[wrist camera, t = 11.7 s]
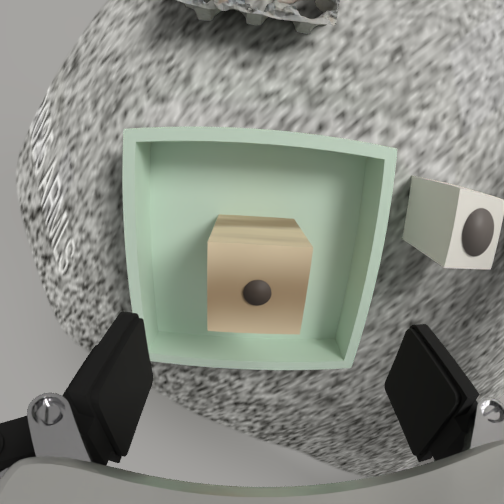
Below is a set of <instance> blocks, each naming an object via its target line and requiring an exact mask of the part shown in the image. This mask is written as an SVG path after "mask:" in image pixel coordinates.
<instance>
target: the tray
mask: <svg viewBox="0 0 504 504" xmlns="http://www.w3.org/2000/svg"><path fill="white" fill-rule="evenodd" d="M396 158H397V149H396V148H391V147H387V146H382V145H377V144H371V143H366V142H360V141H355V140H349V139H342V138H336V137H329V136H322V135H314V134H306V133H297V132H288V131H277V130H265V129H250V128H231V127H151V128H132V129H124V132H123V166H122V184H123V220H124V237H125V251H126V263H127V273H128V282H129V291H130V299H131V306H132V313H137V314H138V315H139V318H142V319H143V320H144V326H145V333H146V339H147V345H148V351H149V357H150V361H154V362H162V363H170V364H179V365H189V366H201V367H214V368H230V369H253V370H320V369H343V368H351V367H352V364H353V361H354V358H355V355H356V352H357V349H358V345H359V342H360V339H361V336H362V332H363V329H364V325H365V322H366V318H367V315H368V311H369V307H370V303H371V300H372V296H373V292H374V287H375V283H376V279H377V275H378V270H379V266H380V261H381V256H382V251H383V246H384V241H385V236H386V230H387V225H388V219H389V213H390V206H391V199H392V192H393V185H394V177H395V168H396ZM219 214H222V215H242V216H259V217H275V218H290V219H295V221H296V222H297V224H298V225H299V227H300V228H301V230H302V231H303V233H304V234H305V236H306V237H307V239H308V240H309V242H310V243H311V245H312V246H313V254H312V261H311V268H310V275H309V281H308V288H307V294H306V301H305V307H304V313H303V319H302V324H301V330H300V334H256V333H234V332H217V331H208V329H207V248H208V240H209V237H210V235H211V232H212V230H213V227H214V225H215V222H216V220H217V218H218V215H219Z"/></svg>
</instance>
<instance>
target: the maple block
mask: <svg viewBox="0 0 504 504" xmlns="http://www.w3.org/2000/svg"><path fill="white" fill-rule="evenodd" d="M312 254H313V246H312V245H311V243H310V242H309V240H308V239H307V237H306V236H305V234H304V233H303V231H302V230H301V228H300V227H299V225H298V224H297V222H296V221H295V219H290V218H275V217H259V216H242V215H222V214H219V215H218V218H217V220H216V222H215V225H214V227H213V230H212V232H211V235H210V237H209V240H208V248H207V329H208V331H217V332H234V333H256V334H300V330H301V324H302V319H303V313H304V307H305V301H306V294H307V288H308V281H309V275H310V268H311V261H312Z"/></svg>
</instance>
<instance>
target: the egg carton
mask: <svg viewBox="0 0 504 504" xmlns="http://www.w3.org/2000/svg"><path fill="white" fill-rule="evenodd" d="M177 1H180V2H183V3H185V7H189V8H192V9H194V10H195V12H196V15H197V18H198V20H205V21H211V20H212V19H213V18H214V17H215V15H216V14H218V13H219V12H220V11H227V10H229V9H233V10H237V11H240V12H241V13H242V14H243V15H244V16H245V18H246V23H247V24H253V25H261V24H262V23H263V22H264V21H265V19H267V18H268V17H272V18H276V19H280V20H290V21H292V22H293V23H294V25H295V29H296V31H297V32H300V33H304V34H310V33H311V31H312V29H313V28H314V27H316V26H318V25H326V24H332V25H335V24H336V20H337V13H338V7H339V0H315V3H316V6H317V7H318V9H319V10H321V11H322V12H324V13H323V14H322V15H320V16H319V17H318V18H315V19H309V18H306V17H304V16H301V15H300V14H299V12H298V10H297V9H296V7H295V6H291V5H289V4H292V3H295V2H296V1H298V0H274V1H273V2H272V3H269V4H267V6H266V8H265V11H264V12H262V11H260V10H259V9H258V8H252V7H251V6H250V4H246V3H245V0H210V1H209V2H208V3H205V2H204V1H203V0H177ZM248 8H252V10H250V11H249V10H248Z"/></svg>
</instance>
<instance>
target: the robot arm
mask: <svg viewBox="0 0 504 504" xmlns="http://www.w3.org/2000/svg"><path fill="white" fill-rule="evenodd" d="M152 382H153V373H152V368H151V363H150V357H149V351H148V345H147V339H146V333H145V326H144V320H143V319H142V318H139V315H138V314H137V313H130V312H121V313H120V314H119V315H118V317H117V318H116V319H115V321H114V322H113V324H112V325H111V327H110V328H109V329H108V331H107V332H106V334H105V335H104V337H103V338H102V340H101V341H100V342H99V344H98V345H96V346H95V347H94V348H93V349H92V351H91V352H90V354H89V355H88V357H87V358H86V360H85V361H84V363H83V365H82V366H81V368H80V369H79V370H78V372H77V374H76V375H75V377H74V378H73V380H72V381H71V383H70V384H69V387H68V388H67V389H66V391H65V392H64V394H63V396H61V395H59V394H56V393H44V394H42V395H39V396H38V397H36V398H35V399H34V400H32V402H31V403H30V404H29V406H28V409H27V416H24V417H21V418H18V419H14V420H11V421H7V422H4V423H0V504H504V405H503V404H502V403H501V402H500V401H499V400H497V399H495V398H491V397H486V398H483V399H481V400H480V401H479V402H478V403H477V401H476V399H477V397H478V396H479V393H478V392H477V390H476V389H475V387H474V386H473V384H472V383H471V382H470V380H469V379H468V377H467V376H466V375H465V373H464V372H463V371H462V369H461V368H460V367H459V365H458V364H457V363H456V361H455V360H454V359H453V357H452V356H451V355H450V353H449V352H448V351H447V350H446V348H445V347H444V346H443V344H442V343H441V342H440V341H439V339H438V338H437V337H436V336H435V334H434V333H433V332H432V331H431V329H430V328H429V327H428V326H427V325H425V324H421V325H412V326H411V327H410V328H409V329H407V331H406V332H405V335H404V338H403V340H402V343H401V346H400V348H399V351H398V353H397V356H396V358H395V361H394V363H393V365H392V368H391V370H390V372H389V375H388V377H387V379H386V381H385V390H386V393H387V395H388V397H389V399H390V402H391V404H392V406H393V408H394V411H395V413H396V415H397V418H398V420H399V422H400V425H401V427H402V429H403V432H404V434H405V436H406V439H407V441H408V444H409V446H410V449H411V451H412V453H413V455H415V456H417V459H418V461H419V462H421V461H424V460H428V459H431V458H432V456H433V457H434V462H431V463H427V464H424V465H421V466H417V467H414V468H410V469H406V470H402V471H398V472H394V473H390V474H385V475H380V476H375V477H370V478H365V479H359V480H353V481H346V482H339V483H331V484H321V485H310V486H295V487H237V486H222V485H221V486H220V485H210V484H201V483H192V482H185V481H179V480H172V479H166V478H160V477H155V476H149V475H144V474H140V473H135V472H131V471H126V470H123V469H118V468H114V467H109V466H106V465H107V463H108V460H110V461H113V462H117V463H119V462H120V459H121V456H126V455H127V453H128V450H129V448H130V444H131V442H132V439H133V436H134V433H135V430H136V427H137V424H138V421H139V419H140V416H141V413H142V410H143V407H144V405H145V402H146V399H147V397H148V394H149V391H150V389H151V386H152Z"/></svg>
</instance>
